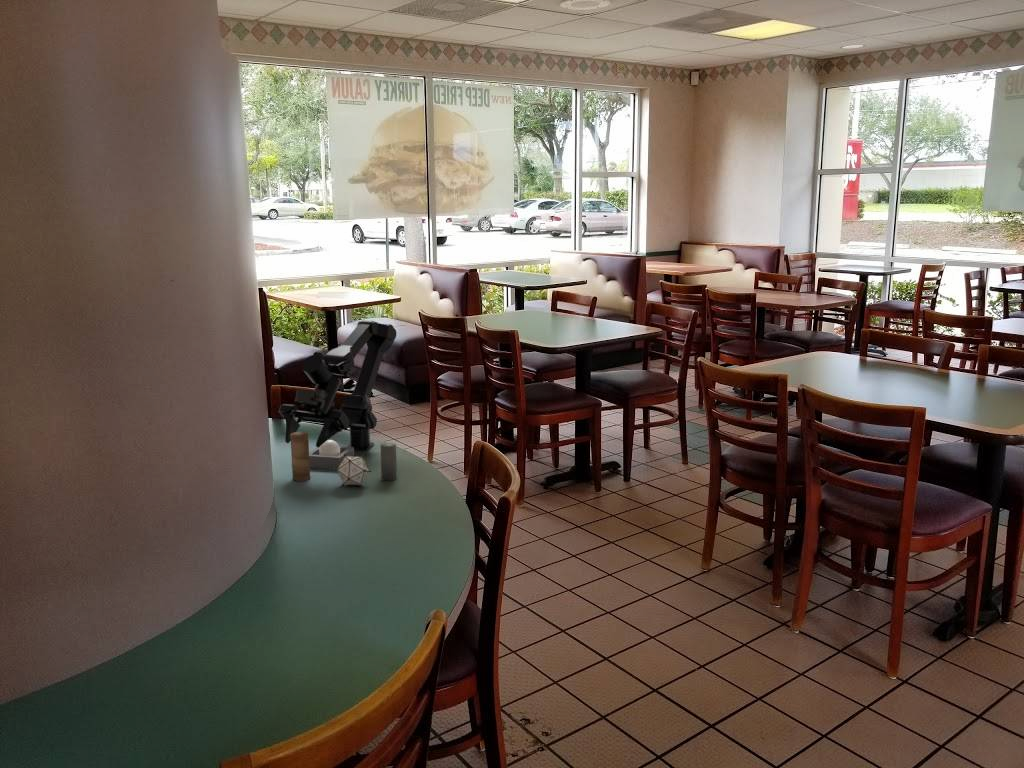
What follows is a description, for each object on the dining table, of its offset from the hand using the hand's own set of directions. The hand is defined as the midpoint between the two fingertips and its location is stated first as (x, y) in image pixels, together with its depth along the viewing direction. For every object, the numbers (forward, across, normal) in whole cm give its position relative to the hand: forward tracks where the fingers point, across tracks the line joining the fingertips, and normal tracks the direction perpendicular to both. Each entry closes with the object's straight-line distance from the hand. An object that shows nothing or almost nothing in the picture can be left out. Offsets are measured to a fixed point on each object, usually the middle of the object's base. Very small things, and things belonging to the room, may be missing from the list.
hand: (301, 444), depth 213 cm
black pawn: (+1, +21, +12) cm, 24 cm away
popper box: (-3, 0, +16) cm, 16 cm away
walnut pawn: (+7, 0, +6) cm, 9 cm away
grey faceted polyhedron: (+7, +15, +6) cm, 18 cm away
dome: (-4, -1, +15) cm, 16 cm away
